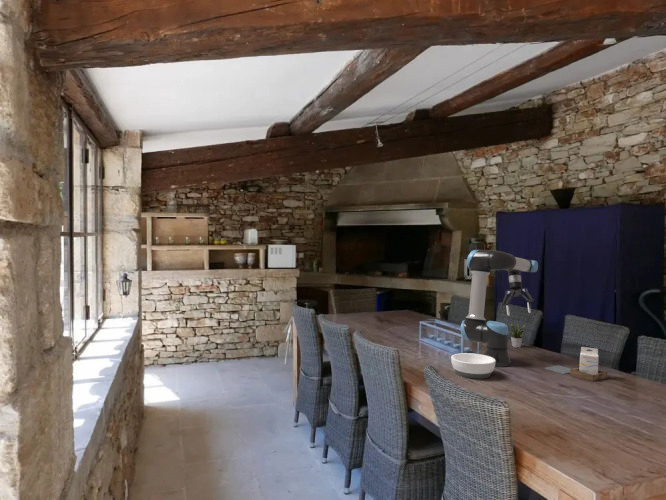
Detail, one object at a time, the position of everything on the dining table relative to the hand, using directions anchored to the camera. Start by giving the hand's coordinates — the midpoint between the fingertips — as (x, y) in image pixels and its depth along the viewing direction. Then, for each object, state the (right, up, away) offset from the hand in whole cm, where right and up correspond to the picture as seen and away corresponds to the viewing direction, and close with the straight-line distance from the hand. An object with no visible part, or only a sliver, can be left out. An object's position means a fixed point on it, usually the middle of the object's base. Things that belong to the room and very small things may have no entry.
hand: (519, 314), depth 317 cm
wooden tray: (+13, -24, -61) cm, 67 cm away
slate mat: (+4, -24, -50) cm, 55 cm away
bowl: (-47, -24, -60) cm, 79 cm away
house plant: (-1, -22, +6) cm, 23 cm away
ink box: (+13, -25, -61) cm, 67 cm away
